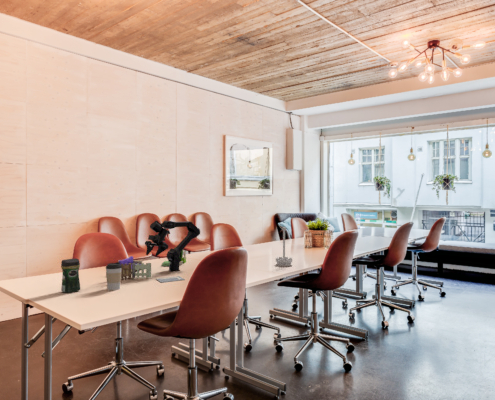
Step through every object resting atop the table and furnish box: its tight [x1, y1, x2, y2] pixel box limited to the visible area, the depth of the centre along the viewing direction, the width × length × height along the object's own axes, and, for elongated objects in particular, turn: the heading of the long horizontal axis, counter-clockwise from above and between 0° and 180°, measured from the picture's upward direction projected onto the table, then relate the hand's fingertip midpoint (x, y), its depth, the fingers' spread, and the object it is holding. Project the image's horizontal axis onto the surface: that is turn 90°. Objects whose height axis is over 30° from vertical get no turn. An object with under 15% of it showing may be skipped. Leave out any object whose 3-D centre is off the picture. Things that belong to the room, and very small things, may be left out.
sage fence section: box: [131, 262, 152, 279], centre depth 254 cm, size 12×2×10 cm, turn 90°
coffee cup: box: [105, 261, 122, 291], centre depth 226 cm, size 9×9×15 cm
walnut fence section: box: [121, 263, 132, 281], centre depth 250 cm, size 11×2×10 cm, turn 120°
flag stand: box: [275, 226, 293, 267], centre depth 303 cm, size 13×13×30 cm
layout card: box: [155, 275, 185, 284], centre depth 251 cm, size 16×11×1 cm
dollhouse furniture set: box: [161, 246, 187, 267], centre depth 308 cm, size 14×29×11 cm, turn 174°
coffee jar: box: [60, 258, 81, 294], centre depth 220 cm, size 10×8×19 cm
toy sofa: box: [117, 255, 143, 274], centre depth 274 cm, size 21×9×10 cm, turn 169°
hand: (151, 255), depth 263 cm, fingers open, 9 cm apart
